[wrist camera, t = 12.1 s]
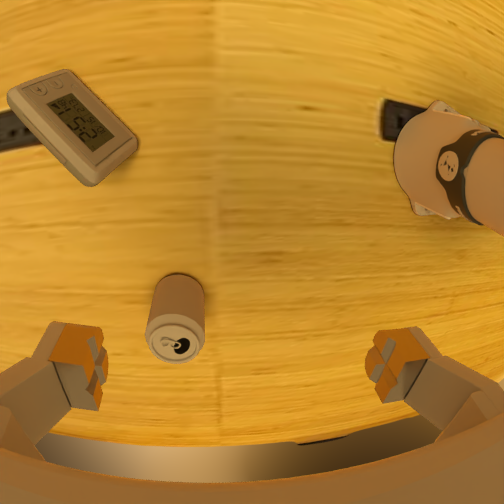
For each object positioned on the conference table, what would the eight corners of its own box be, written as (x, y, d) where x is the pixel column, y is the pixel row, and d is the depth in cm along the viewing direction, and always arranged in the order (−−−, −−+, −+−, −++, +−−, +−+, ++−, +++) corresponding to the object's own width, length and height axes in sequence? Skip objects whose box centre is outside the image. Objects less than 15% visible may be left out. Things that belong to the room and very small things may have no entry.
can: (192, 320, 49) (191, 375, 39) (148, 302, 47) (135, 356, 36) (212, 283, 47) (215, 335, 36) (165, 263, 45) (154, 313, 34)
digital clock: (146, 149, 38) (125, 162, 28) (93, 187, 39) (62, 213, 29) (85, 53, 31) (50, 40, 21) (35, 96, 32) (-8, 98, 22)
